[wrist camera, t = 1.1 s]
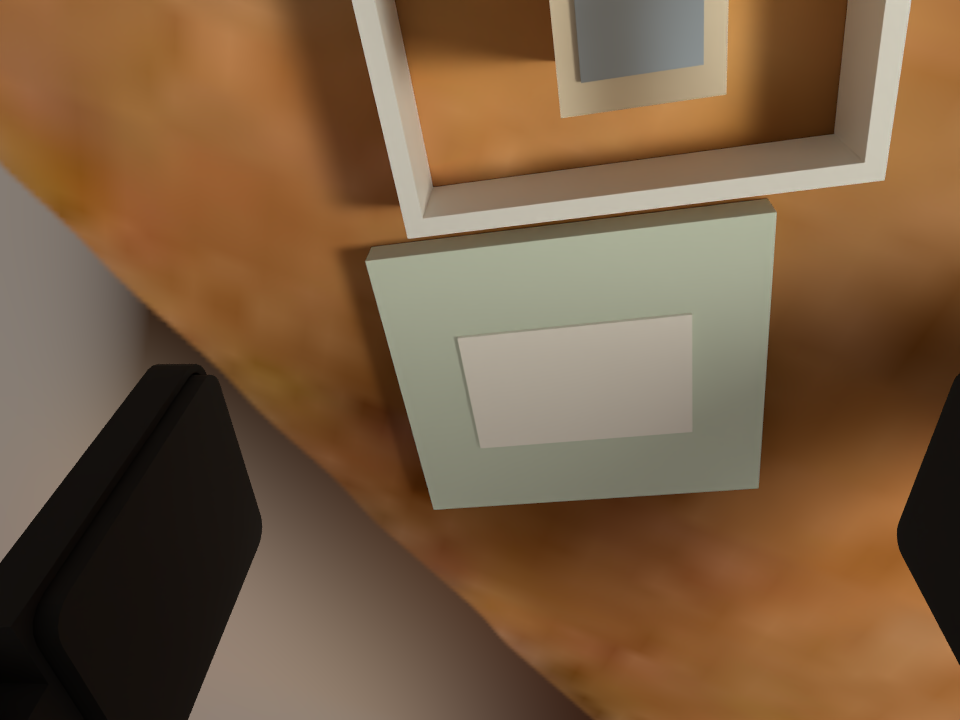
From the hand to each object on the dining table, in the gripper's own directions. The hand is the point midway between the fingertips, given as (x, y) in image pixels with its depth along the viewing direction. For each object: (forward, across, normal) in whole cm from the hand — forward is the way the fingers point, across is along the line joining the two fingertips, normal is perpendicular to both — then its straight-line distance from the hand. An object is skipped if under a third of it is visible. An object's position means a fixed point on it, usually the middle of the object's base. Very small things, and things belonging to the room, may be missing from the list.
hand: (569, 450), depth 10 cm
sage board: (+24, -2, +15) cm, 28 cm away
